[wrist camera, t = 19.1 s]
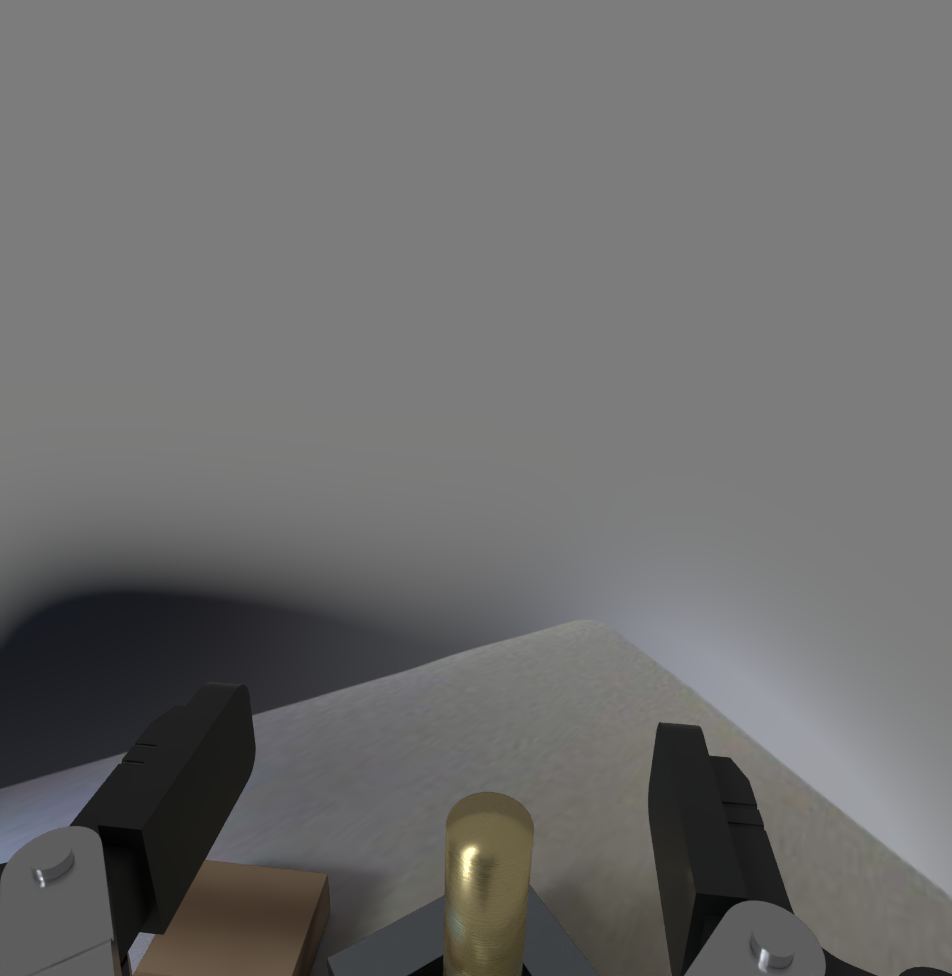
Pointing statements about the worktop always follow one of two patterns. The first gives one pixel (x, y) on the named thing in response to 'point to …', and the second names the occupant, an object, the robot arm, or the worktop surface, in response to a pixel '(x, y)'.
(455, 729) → the worktop surface
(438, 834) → the worktop surface
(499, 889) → the axle
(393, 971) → the seat block
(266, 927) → the beam
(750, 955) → the robot arm
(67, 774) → the worktop surface
